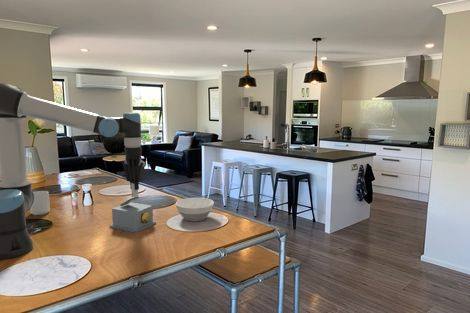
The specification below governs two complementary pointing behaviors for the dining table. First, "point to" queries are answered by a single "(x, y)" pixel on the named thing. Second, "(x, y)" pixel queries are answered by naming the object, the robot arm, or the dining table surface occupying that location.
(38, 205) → the mug
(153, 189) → the dining table surface
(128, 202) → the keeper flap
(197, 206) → the bowl
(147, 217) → the pin
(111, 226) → the block
